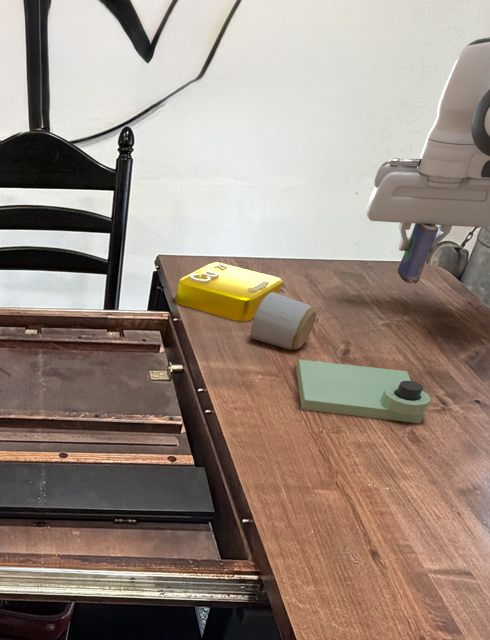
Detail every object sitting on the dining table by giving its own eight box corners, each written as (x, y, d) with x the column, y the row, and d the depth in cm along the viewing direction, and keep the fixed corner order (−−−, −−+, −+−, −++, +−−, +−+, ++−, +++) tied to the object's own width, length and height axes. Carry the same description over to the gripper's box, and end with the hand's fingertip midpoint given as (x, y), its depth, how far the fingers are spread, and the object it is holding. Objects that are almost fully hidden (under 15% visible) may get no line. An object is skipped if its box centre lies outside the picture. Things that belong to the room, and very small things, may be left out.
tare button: (415, 393, 101) (421, 381, 99) (419, 403, 98) (425, 391, 97) (393, 390, 101) (398, 379, 100) (396, 400, 99) (401, 388, 98)
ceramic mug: (292, 358, 116) (307, 310, 111) (245, 344, 120) (257, 298, 114) (316, 339, 122) (331, 293, 117) (270, 326, 126) (283, 281, 121)
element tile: (244, 325, 126) (251, 298, 123) (170, 304, 133) (175, 277, 130) (280, 302, 134) (287, 276, 131) (209, 283, 141) (214, 258, 138)
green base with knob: (405, 383, 110) (414, 361, 108) (423, 429, 99) (434, 407, 97) (295, 370, 113) (301, 349, 110) (301, 414, 102) (308, 392, 100)
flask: (419, 284, 125) (445, 217, 117) (401, 283, 125) (425, 216, 118) (412, 268, 131) (435, 203, 124) (394, 266, 132) (417, 202, 124)
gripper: (384, 161, 116) (355, 252, 125) (522, 167, 112) (482, 260, 121) (378, 153, 120) (351, 241, 129) (511, 159, 116) (474, 249, 126)
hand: (416, 250), depth 125 cm, fingers closed on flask, 3 cm apart
